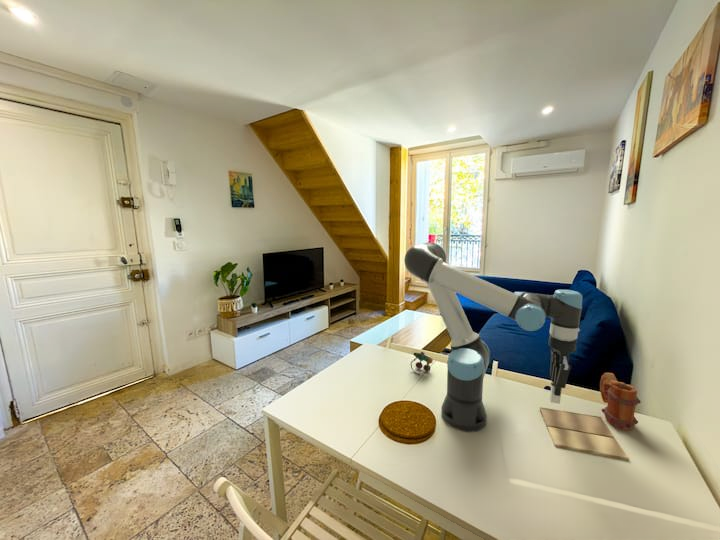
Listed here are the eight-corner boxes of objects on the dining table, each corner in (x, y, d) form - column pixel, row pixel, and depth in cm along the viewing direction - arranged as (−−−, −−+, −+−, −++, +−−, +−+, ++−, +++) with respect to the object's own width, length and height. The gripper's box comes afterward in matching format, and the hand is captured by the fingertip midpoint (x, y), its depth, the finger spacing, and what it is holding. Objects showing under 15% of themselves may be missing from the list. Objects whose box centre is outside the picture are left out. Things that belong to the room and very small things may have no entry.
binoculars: (430, 378, 133) (436, 357, 135) (422, 375, 126) (428, 352, 129) (412, 372, 139) (418, 351, 142) (404, 368, 132) (410, 347, 135)
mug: (643, 436, 92) (649, 393, 89) (613, 433, 94) (618, 390, 91) (613, 408, 106) (618, 369, 104) (587, 405, 108) (592, 368, 105)
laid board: (554, 448, 88) (554, 443, 88) (546, 430, 96) (547, 425, 95) (628, 463, 82) (628, 458, 82) (613, 442, 90) (614, 437, 90)
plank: (546, 429, 96) (547, 425, 96) (539, 410, 104) (540, 407, 104) (613, 441, 90) (613, 436, 90) (600, 420, 99) (600, 416, 98)
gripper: (584, 346, 88) (574, 416, 92) (569, 331, 100) (561, 393, 104) (555, 343, 90) (547, 411, 95) (544, 328, 103) (537, 389, 107)
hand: (554, 401), depth 99 cm, fingers closed
